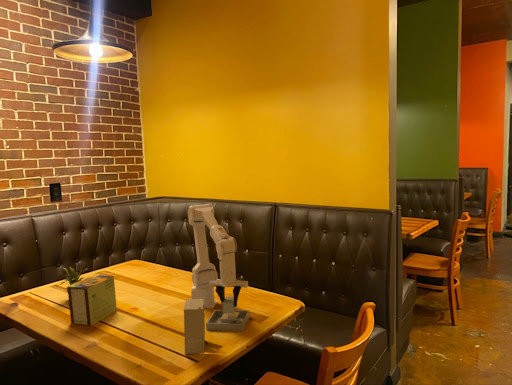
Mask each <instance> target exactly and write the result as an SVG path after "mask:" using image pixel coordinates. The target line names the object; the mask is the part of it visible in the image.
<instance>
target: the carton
mask: <svg viewBox="0 0 512 385" xmlns="http://www.w3.org/2000/svg"><path fill="white" fill-rule="evenodd" d="M237 308H238V305H237V306H236V307H234V296H225V300H224V301H223V306H222V310H223V313H232V314H234V312H235V310H237Z"/></svg>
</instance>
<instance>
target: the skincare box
mask: <svg viewBox="0 0 512 385" xmlns="http://www.w3.org/2000/svg"><path fill="white" fill-rule="evenodd" d="M183 317H184V318H183V326H184V328H183V329H184V331H183V334H184V354H185V355H192V354H194V355H196V354H204V353H205V343H206V342H205V341H206V340H205V338H206V337H205V336H206V335H205V334H206V332H205V331H206V330H205V329H206V322H205V308H204V299H192V298H188V299H185V303H184V306H183Z"/></svg>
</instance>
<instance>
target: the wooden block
mask: <svg viewBox="0 0 512 385" xmlns="http://www.w3.org/2000/svg"><path fill="white" fill-rule="evenodd" d="M239 322H240V312H234V314H232V313H223V315H222V317H221V323H230V324H239Z"/></svg>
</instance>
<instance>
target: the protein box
mask: <svg viewBox="0 0 512 385" xmlns="http://www.w3.org/2000/svg"><path fill="white" fill-rule="evenodd" d="M115 287H116V286H115V275H109V274H108V275H107V274H96V273H95V274H92V275H90V276H88V277H84V278H83V279H82V280H81V281H79V282H76V283H74V284H72V285H70V284H69V285H68V286H67V287H66V288H68V292H67V296H68V298H67V299H68V305H69V314H70V323H71V324H73V323H74V324H75V325H80V326H81V325H82V326H87V327H92V326H94V325H96V324H97V323H98V322H100V321H102V320H103V319H105V318H107V317H109V316H110V315H113V313H115V312H117V309H118V308H117V297H116V288H115ZM74 324H73V325H74Z"/></svg>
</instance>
